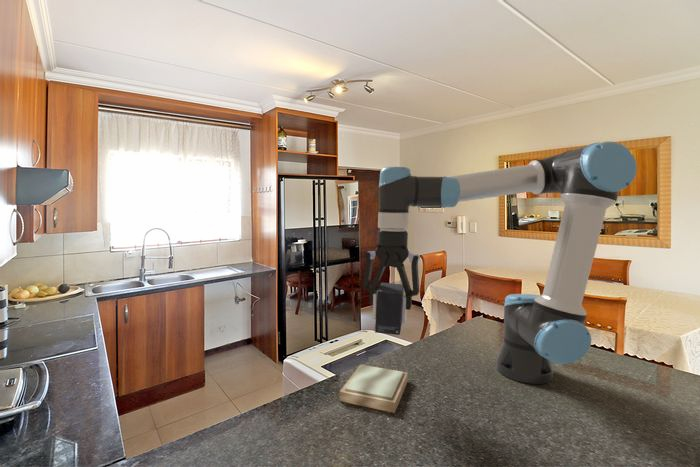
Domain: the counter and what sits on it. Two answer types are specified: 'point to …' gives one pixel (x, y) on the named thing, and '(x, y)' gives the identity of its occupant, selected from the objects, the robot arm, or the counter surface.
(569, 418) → the counter surface
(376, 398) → the stand
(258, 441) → the counter surface
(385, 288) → the small box
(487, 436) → the counter surface
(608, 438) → the counter surface
